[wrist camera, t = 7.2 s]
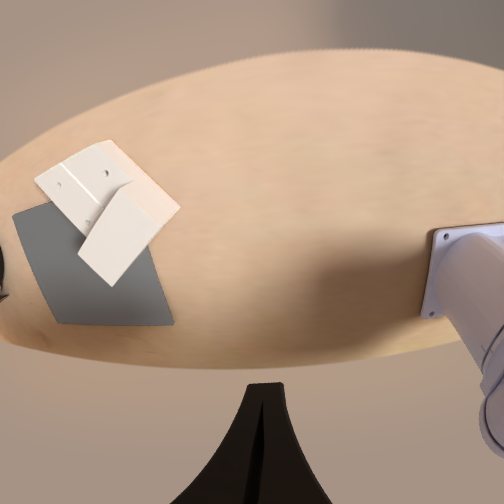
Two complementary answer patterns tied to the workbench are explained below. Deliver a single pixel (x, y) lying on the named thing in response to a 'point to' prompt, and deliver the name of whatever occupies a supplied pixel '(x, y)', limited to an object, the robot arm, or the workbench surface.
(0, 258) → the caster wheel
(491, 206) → the workbench surface
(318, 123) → the workbench surface
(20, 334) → the workbench surface
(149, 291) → the rubber mat
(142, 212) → the white angled block
